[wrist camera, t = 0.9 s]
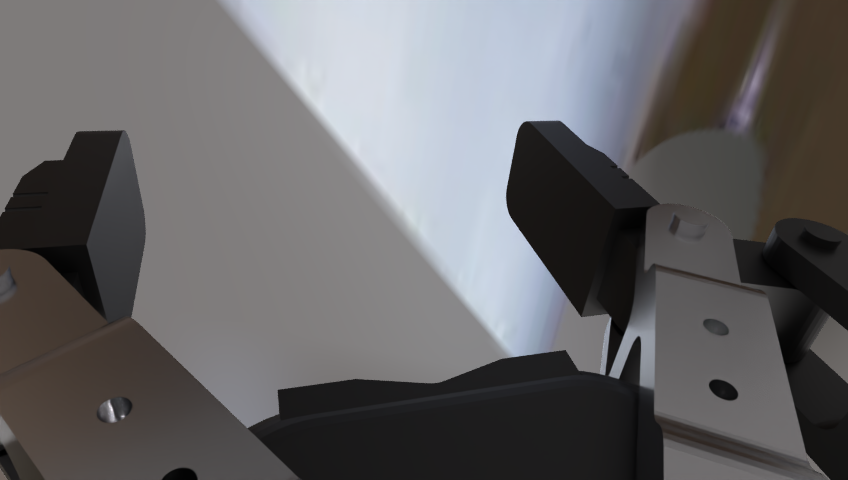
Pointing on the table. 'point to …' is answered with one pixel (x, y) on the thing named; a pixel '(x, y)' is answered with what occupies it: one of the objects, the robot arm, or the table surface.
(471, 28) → the table surface
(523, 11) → the table surface
